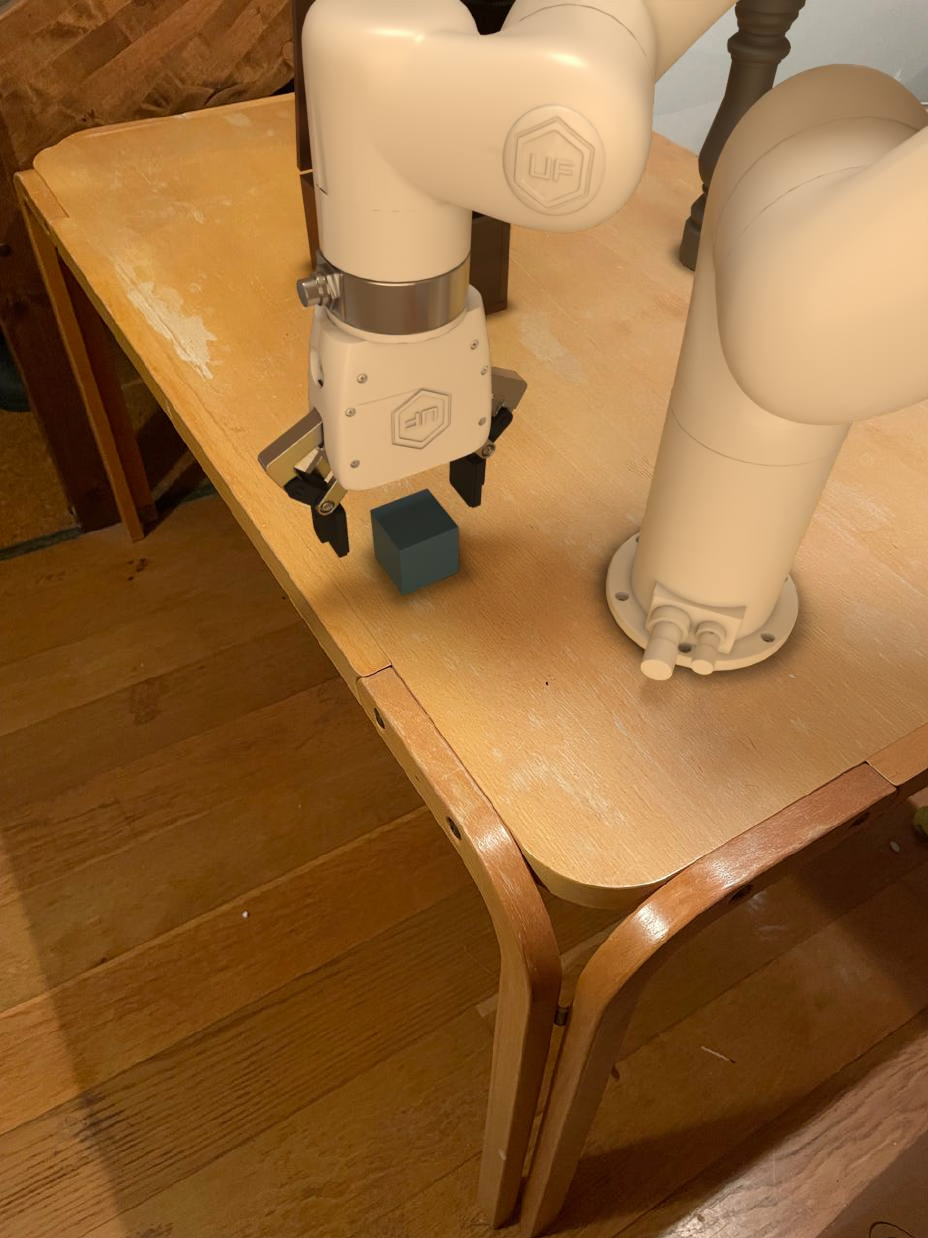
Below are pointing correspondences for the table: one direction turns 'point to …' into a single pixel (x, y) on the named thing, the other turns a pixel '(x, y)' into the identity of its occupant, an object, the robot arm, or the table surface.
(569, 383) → the table surface
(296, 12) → the lid
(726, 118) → the candle holder
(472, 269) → the chest
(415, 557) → the block
